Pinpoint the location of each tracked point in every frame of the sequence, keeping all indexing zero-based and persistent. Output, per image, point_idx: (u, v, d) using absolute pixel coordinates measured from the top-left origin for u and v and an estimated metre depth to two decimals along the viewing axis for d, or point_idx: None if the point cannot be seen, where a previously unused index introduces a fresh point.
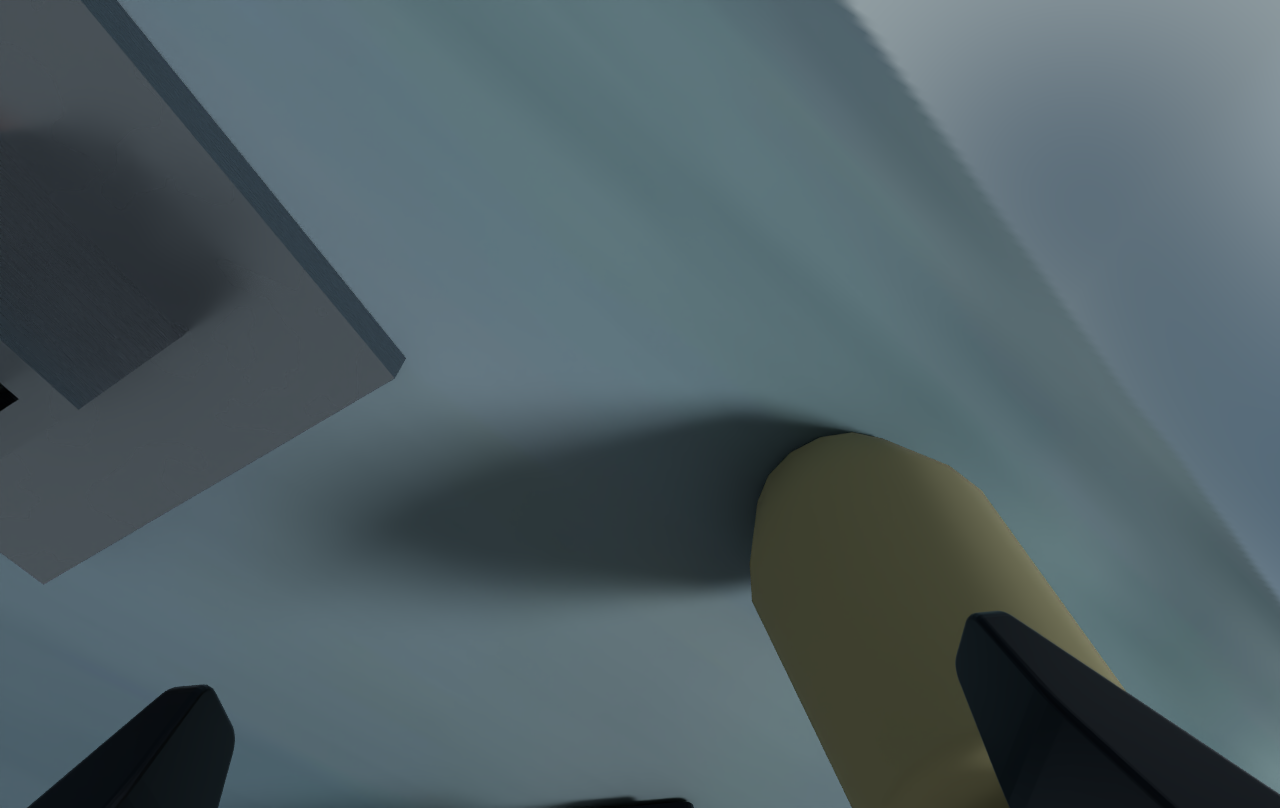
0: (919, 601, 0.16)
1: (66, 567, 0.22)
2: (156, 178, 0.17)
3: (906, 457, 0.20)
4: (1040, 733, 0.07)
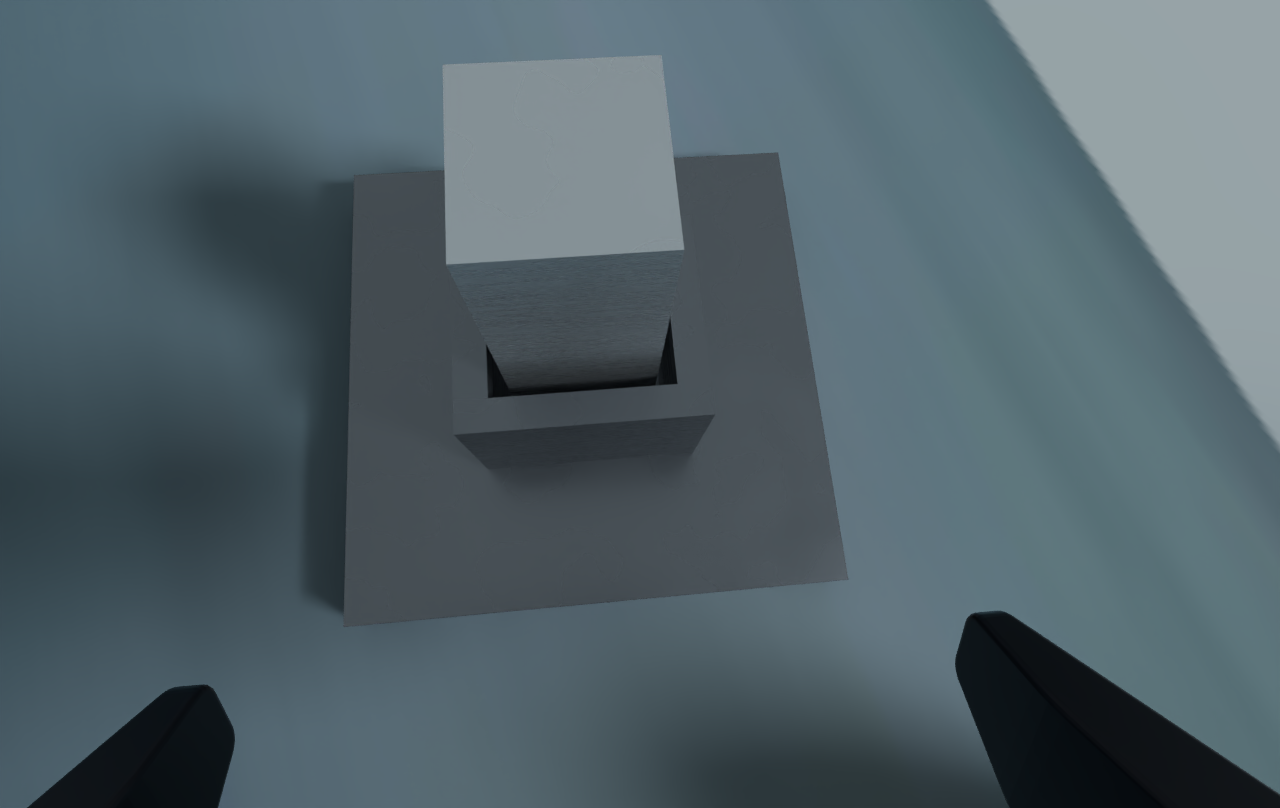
0: None
1: (385, 619, 0.19)
2: (761, 340, 0.21)
3: None
4: (1040, 733, 0.07)
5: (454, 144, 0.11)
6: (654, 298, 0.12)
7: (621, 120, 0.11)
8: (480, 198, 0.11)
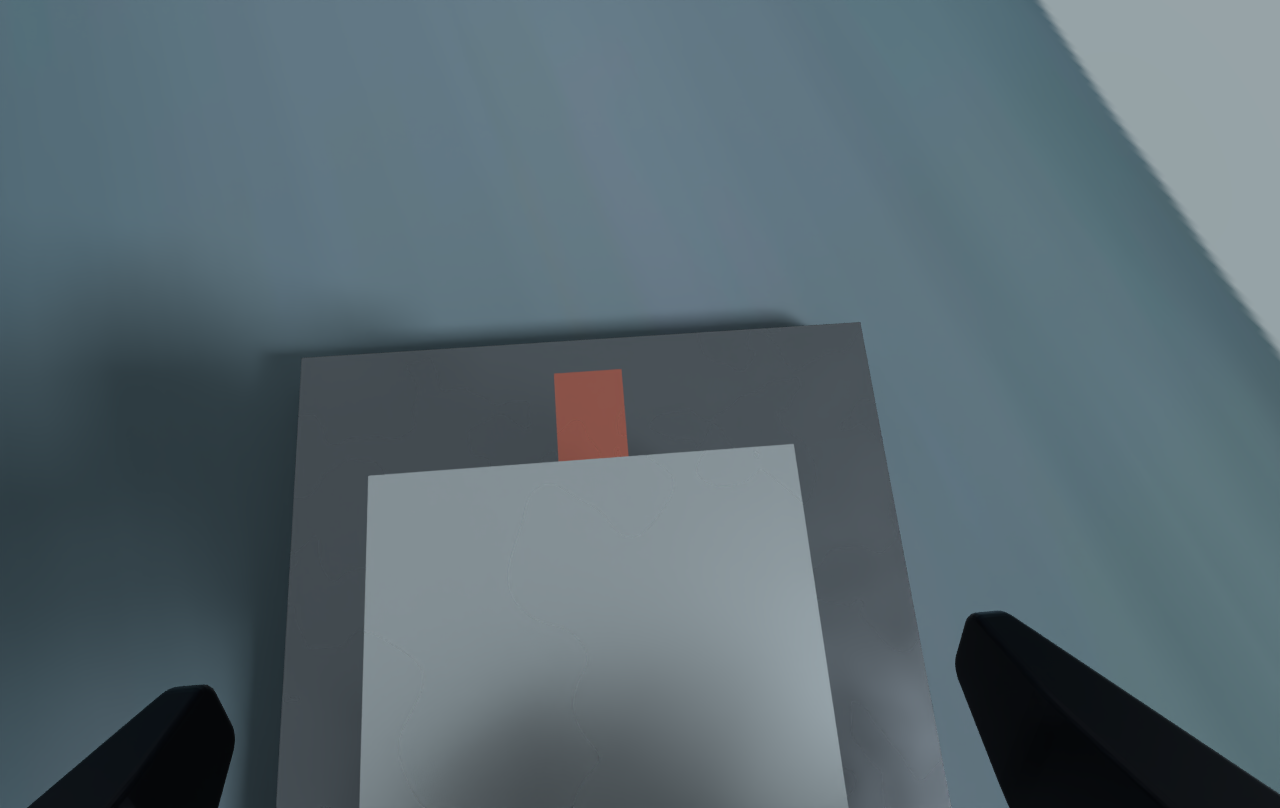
0: None
1: None
2: (847, 595, 0.16)
3: None
4: (1040, 733, 0.07)
5: (384, 669, 0.05)
6: None
7: (721, 600, 0.05)
8: None
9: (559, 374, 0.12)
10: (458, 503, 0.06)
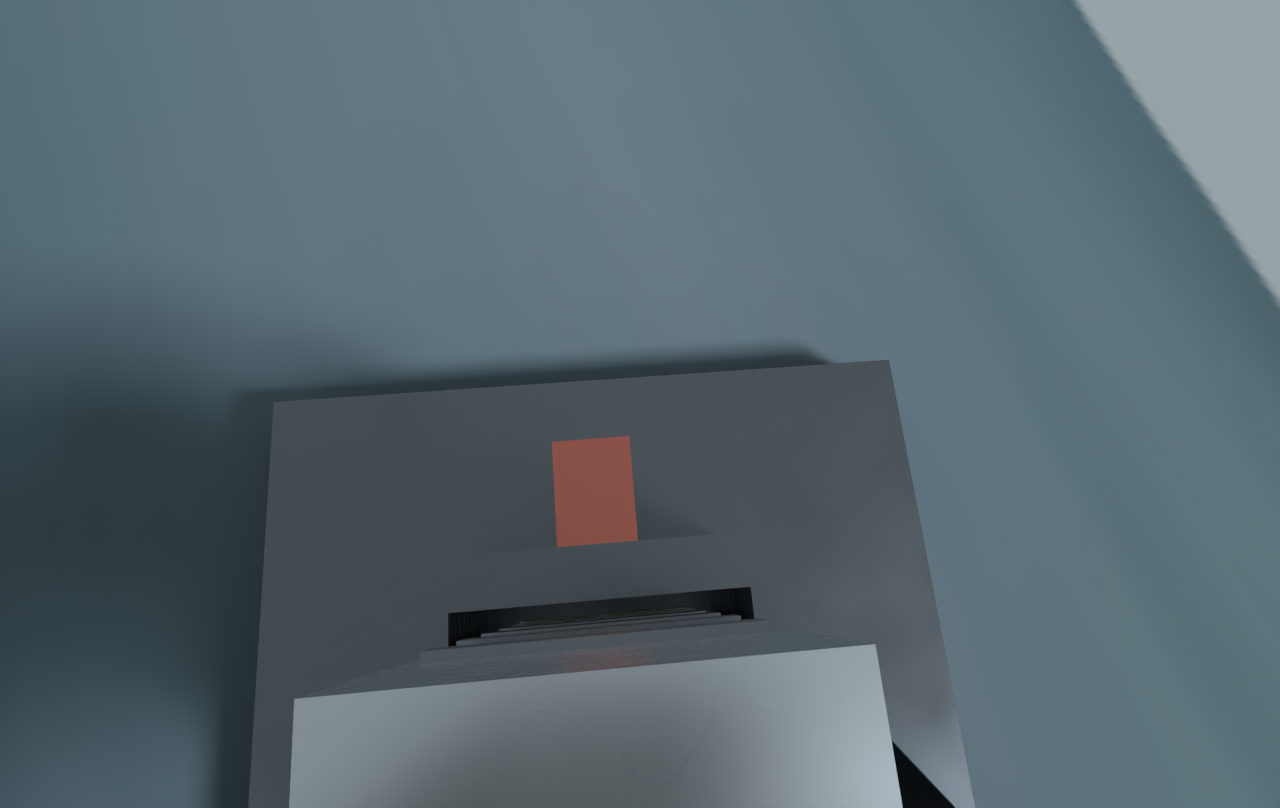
0: None
1: None
2: None
3: None
4: None
5: None
6: None
7: None
8: None
9: (558, 443, 0.11)
10: (418, 738, 0.04)
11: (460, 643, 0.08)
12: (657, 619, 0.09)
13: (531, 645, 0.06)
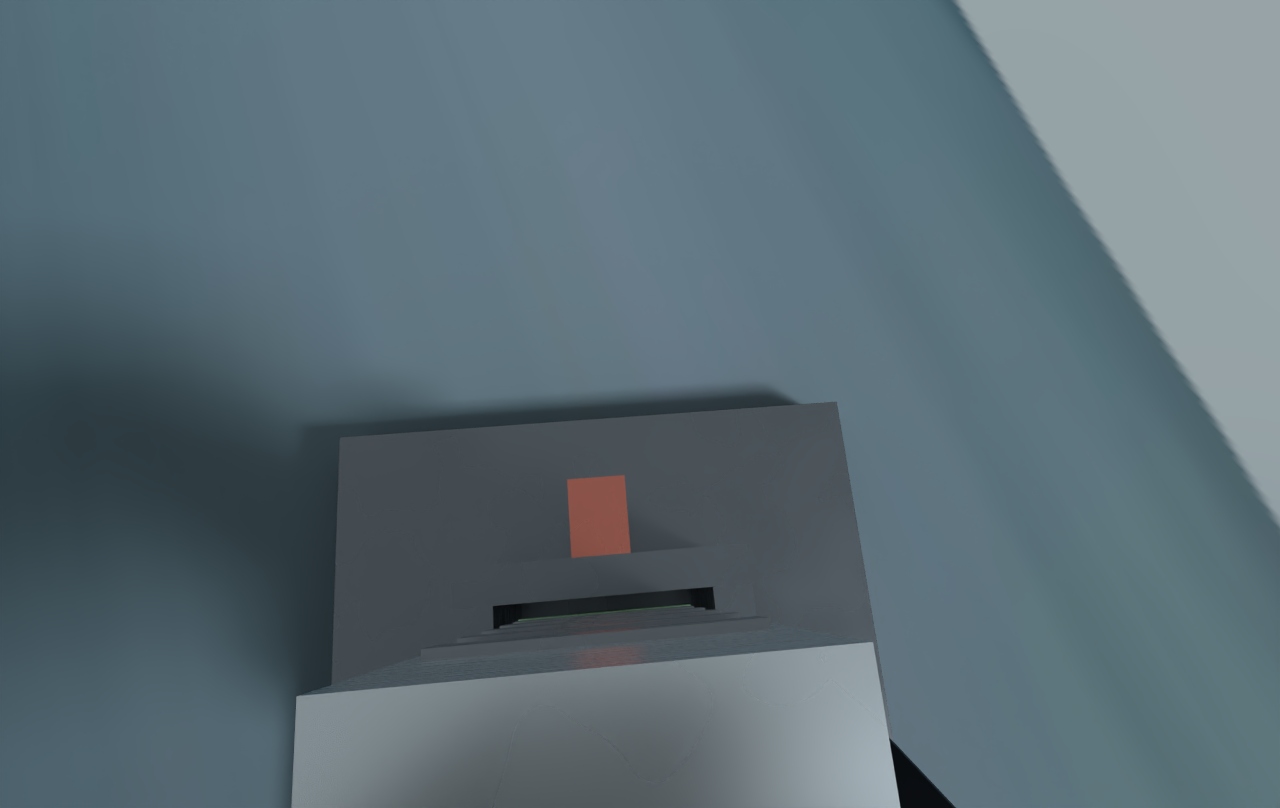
0: None
1: None
2: None
3: None
4: None
5: None
6: None
7: None
8: None
9: (571, 479, 0.14)
10: (419, 736, 0.04)
11: (461, 641, 0.08)
12: (657, 617, 0.09)
13: (531, 643, 0.06)
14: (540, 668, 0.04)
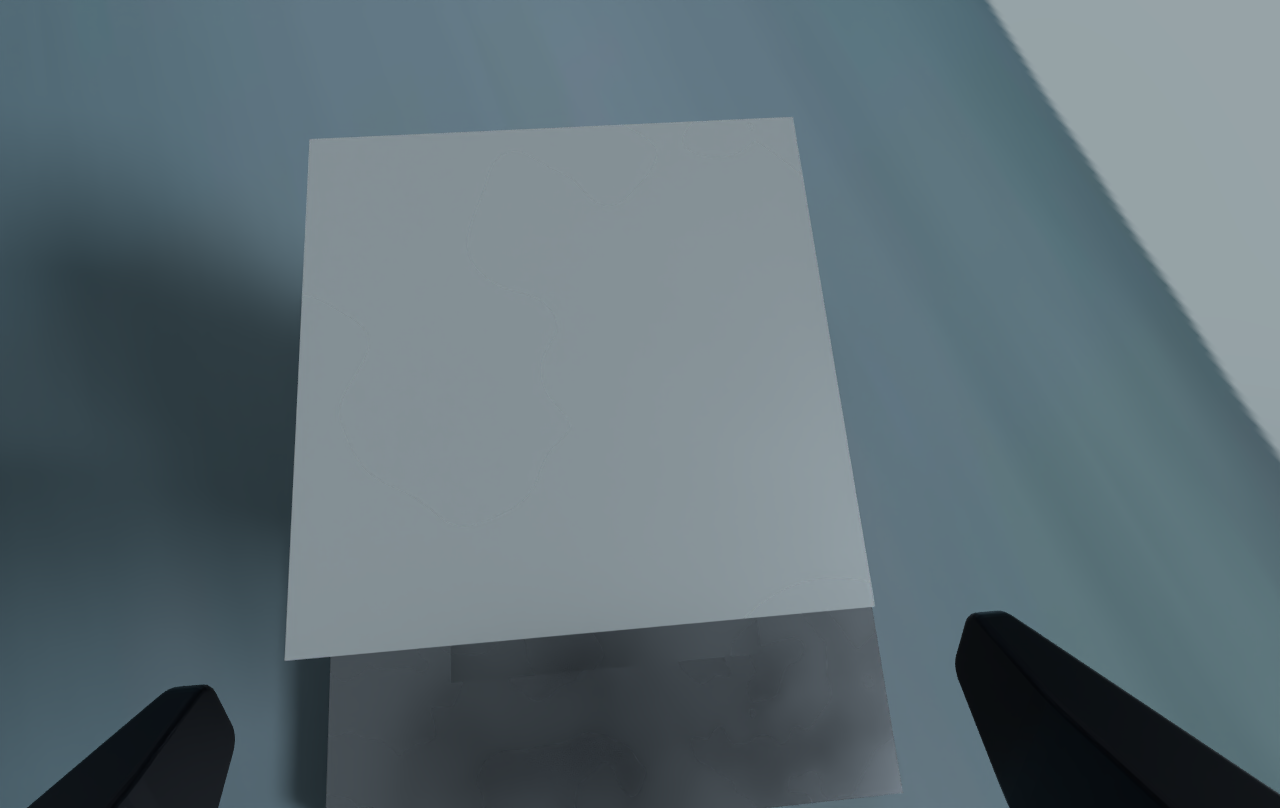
0: None
1: None
2: None
3: None
4: (1040, 733, 0.07)
5: (325, 332, 0.05)
6: None
7: (710, 270, 0.05)
8: (380, 472, 0.04)
9: None
10: (412, 168, 0.05)
11: None
12: None
13: None
14: None
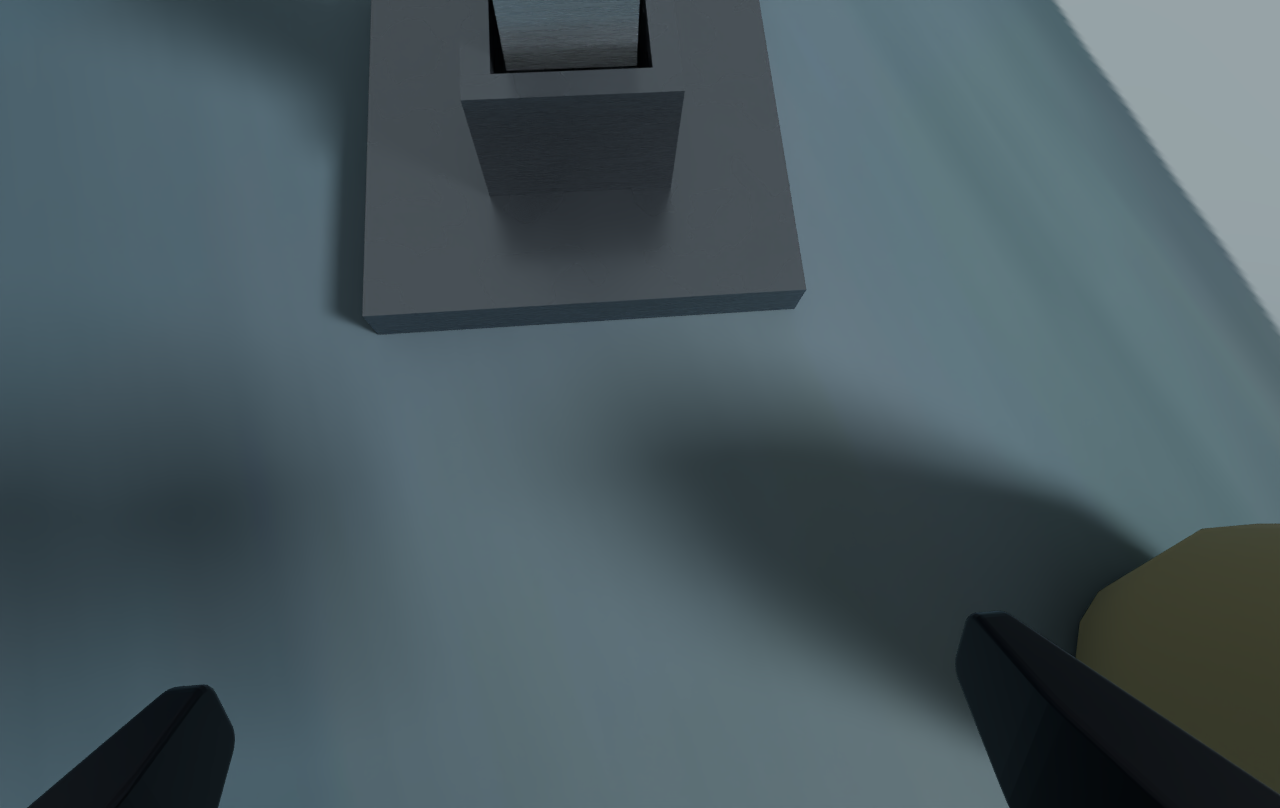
0: None
1: (399, 311, 0.21)
2: (733, 99, 0.24)
3: None
4: (1040, 733, 0.07)
5: None
6: None
7: None
8: None
9: None
10: None
11: None
12: None
13: None
14: None
